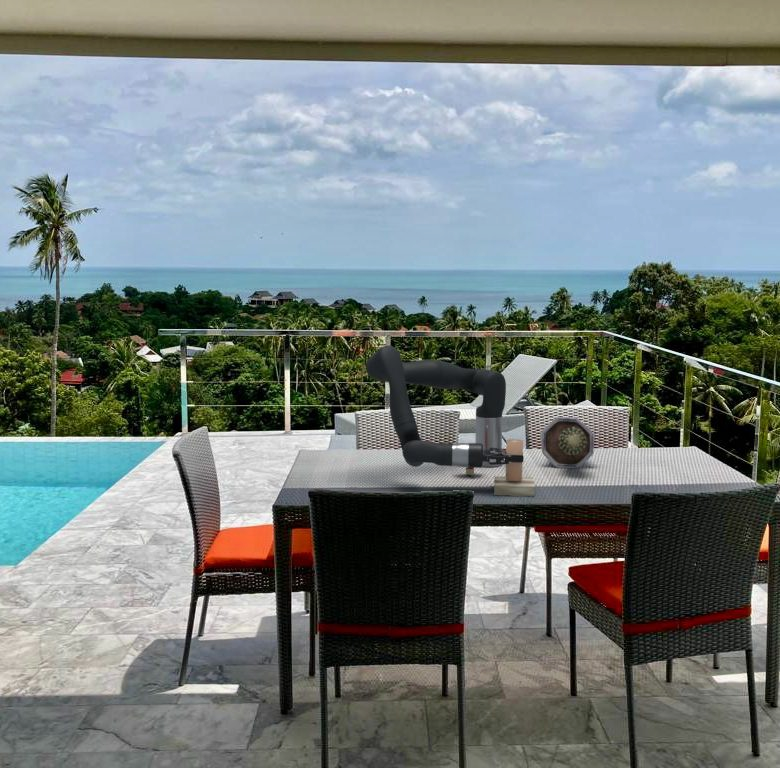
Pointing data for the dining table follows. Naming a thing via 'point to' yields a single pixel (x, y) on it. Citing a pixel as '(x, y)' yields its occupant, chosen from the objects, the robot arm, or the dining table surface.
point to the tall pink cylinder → (514, 468)
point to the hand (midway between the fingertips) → (522, 456)
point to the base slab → (514, 487)
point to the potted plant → (567, 442)
